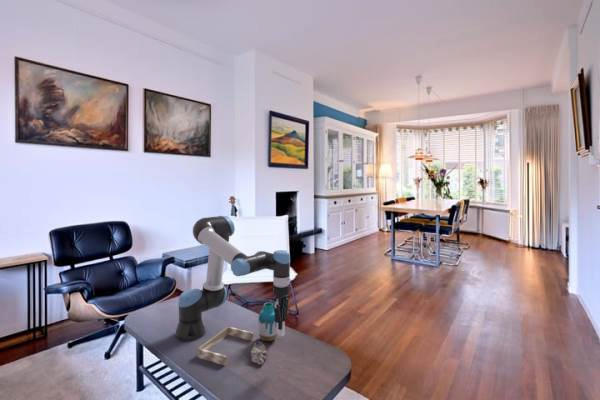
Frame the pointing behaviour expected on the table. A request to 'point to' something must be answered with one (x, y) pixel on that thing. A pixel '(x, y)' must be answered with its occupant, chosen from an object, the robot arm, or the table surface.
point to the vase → (267, 323)
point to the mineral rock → (258, 353)
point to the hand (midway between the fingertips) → (281, 335)
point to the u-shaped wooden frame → (216, 357)
